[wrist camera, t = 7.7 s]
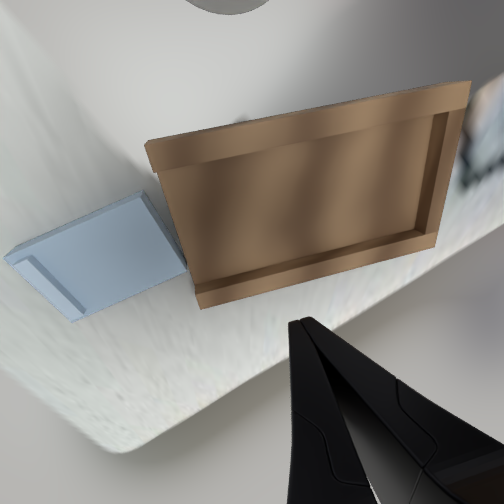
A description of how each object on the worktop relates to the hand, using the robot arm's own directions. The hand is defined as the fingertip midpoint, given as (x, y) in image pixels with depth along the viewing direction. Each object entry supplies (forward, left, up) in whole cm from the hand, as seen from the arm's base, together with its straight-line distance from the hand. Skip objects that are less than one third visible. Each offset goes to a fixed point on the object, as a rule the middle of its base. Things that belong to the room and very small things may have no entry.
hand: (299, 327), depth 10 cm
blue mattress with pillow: (+10, +1, -12) cm, 16 cm away
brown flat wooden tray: (-5, 0, -12) cm, 13 cm away
